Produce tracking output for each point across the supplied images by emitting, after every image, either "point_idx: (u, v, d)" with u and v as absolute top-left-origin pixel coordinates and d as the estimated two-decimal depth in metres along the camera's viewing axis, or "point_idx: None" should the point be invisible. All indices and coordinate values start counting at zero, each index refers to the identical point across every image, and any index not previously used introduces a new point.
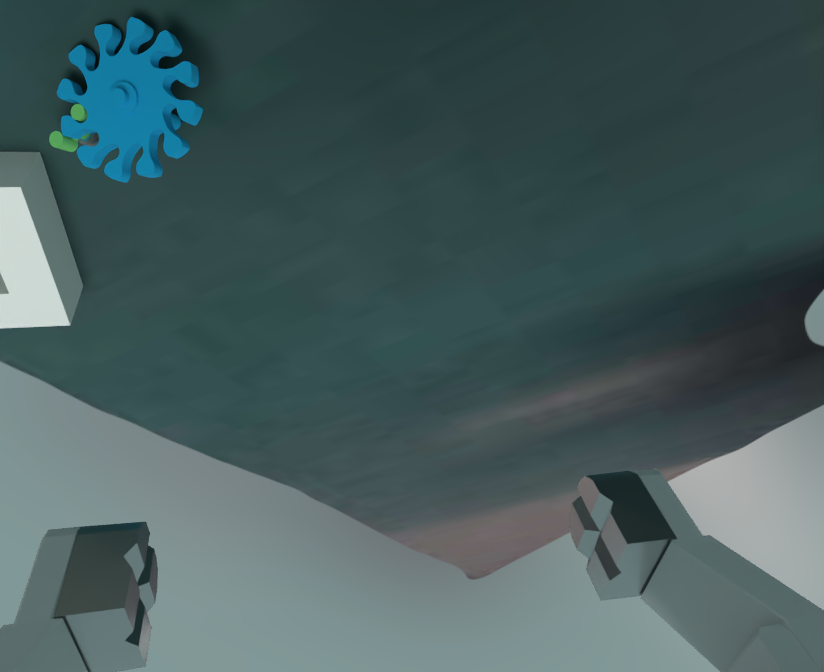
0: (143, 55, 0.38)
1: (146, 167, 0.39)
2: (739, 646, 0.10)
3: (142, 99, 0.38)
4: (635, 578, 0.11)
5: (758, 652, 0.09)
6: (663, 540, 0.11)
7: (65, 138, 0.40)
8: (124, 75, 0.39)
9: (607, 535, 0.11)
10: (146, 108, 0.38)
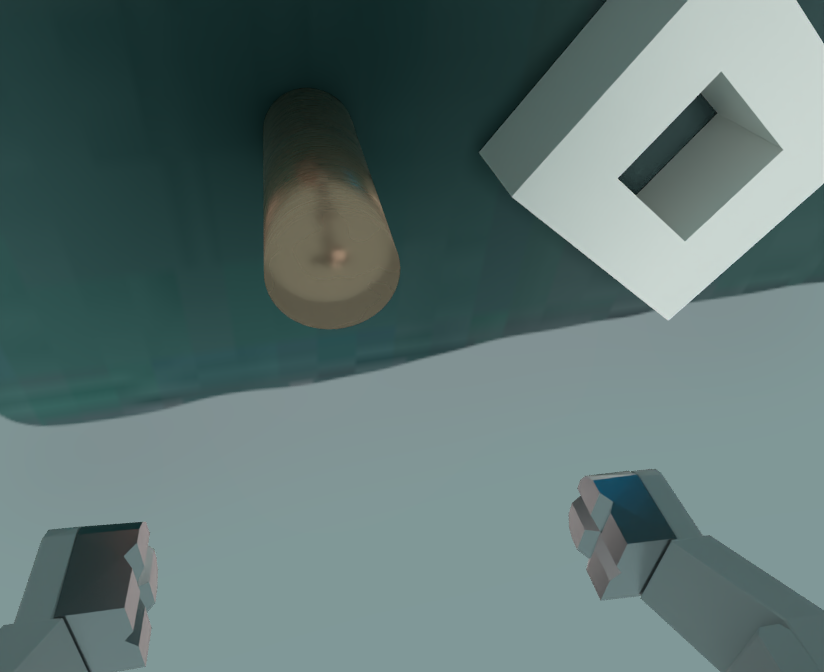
0: None
1: None
2: (739, 646, 0.10)
3: None
4: (635, 578, 0.11)
5: (758, 652, 0.09)
6: (663, 540, 0.11)
7: None
8: None
9: (607, 535, 0.11)
10: None
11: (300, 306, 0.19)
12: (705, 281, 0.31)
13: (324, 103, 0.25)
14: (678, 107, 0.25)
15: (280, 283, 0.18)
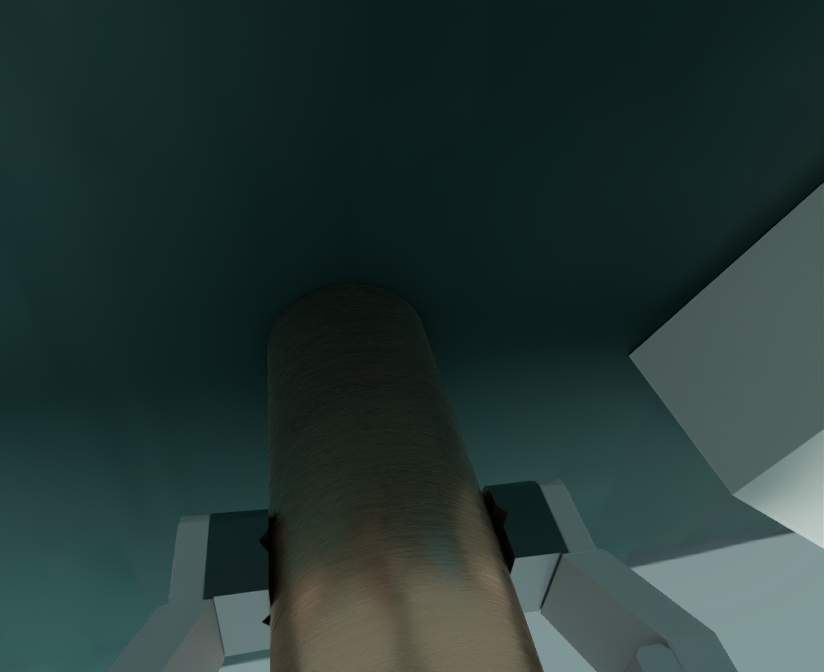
0: None
1: None
2: (629, 665, 0.10)
3: None
4: (531, 593, 0.11)
5: None
6: (554, 554, 0.10)
7: None
8: None
9: (501, 548, 0.11)
10: None
11: None
12: None
13: (384, 331, 0.13)
14: None
15: None
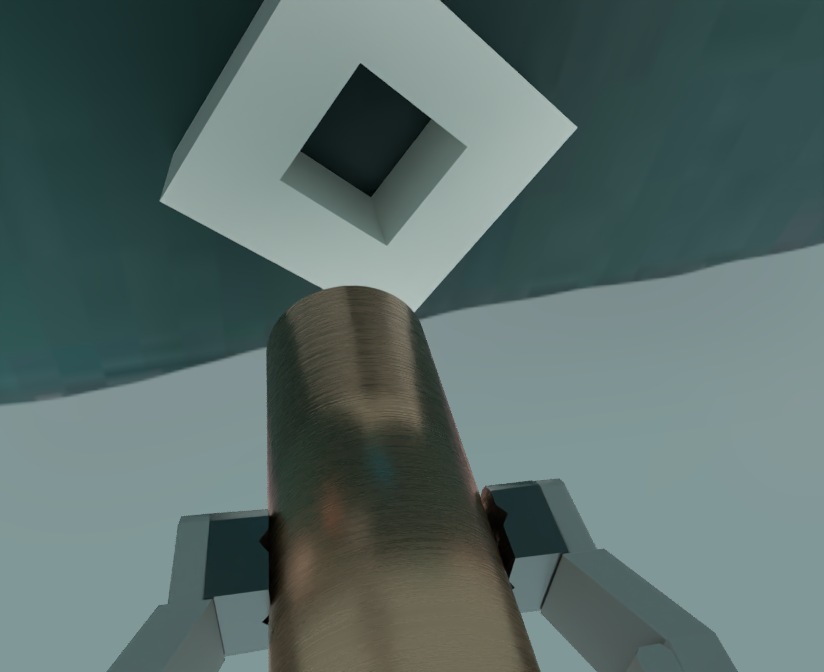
0: None
1: None
2: (629, 664, 0.10)
3: None
4: (531, 593, 0.11)
5: None
6: (554, 554, 0.10)
7: None
8: None
9: (502, 549, 0.11)
10: None
11: None
12: (427, 287, 0.29)
13: (383, 333, 0.13)
14: (323, 102, 0.23)
15: None
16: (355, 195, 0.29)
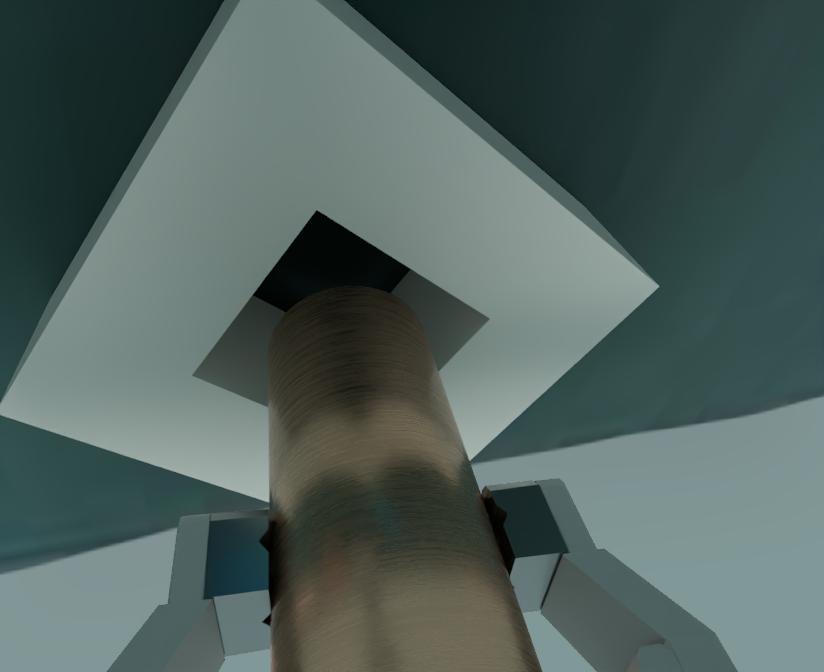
0: None
1: None
2: (629, 664, 0.10)
3: None
4: (531, 592, 0.11)
5: None
6: (555, 554, 0.10)
7: None
8: None
9: (502, 548, 0.11)
10: None
11: None
12: None
13: (385, 334, 0.13)
14: (257, 268, 0.14)
15: None
16: None
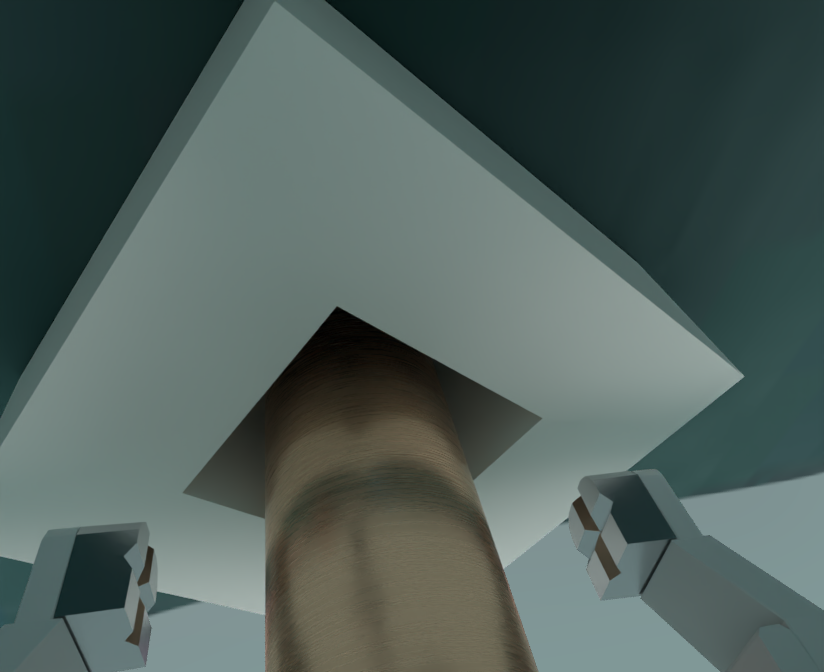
0: None
1: None
2: (739, 646, 0.10)
3: None
4: (635, 578, 0.11)
5: (758, 652, 0.09)
6: (663, 540, 0.11)
7: None
8: None
9: (607, 536, 0.11)
10: None
11: None
12: None
13: None
14: (262, 374, 0.11)
15: None
16: None
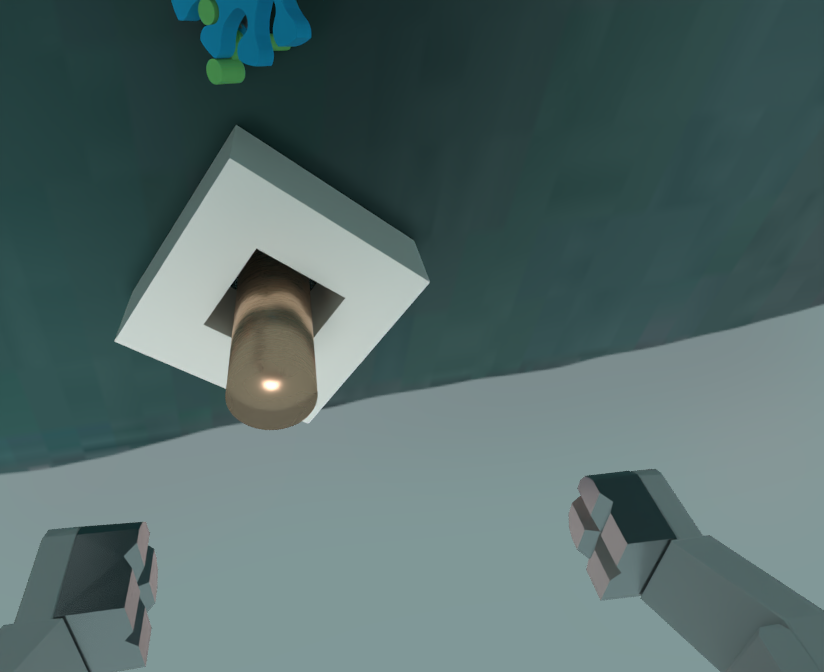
0: None
1: None
2: (739, 645, 0.10)
3: None
4: (635, 578, 0.11)
5: (758, 652, 0.09)
6: (663, 540, 0.11)
7: (221, 60, 0.27)
8: None
9: (607, 536, 0.11)
10: None
11: (251, 416, 0.28)
12: (327, 393, 0.37)
13: None
14: (231, 274, 0.31)
15: (236, 403, 0.27)
16: None
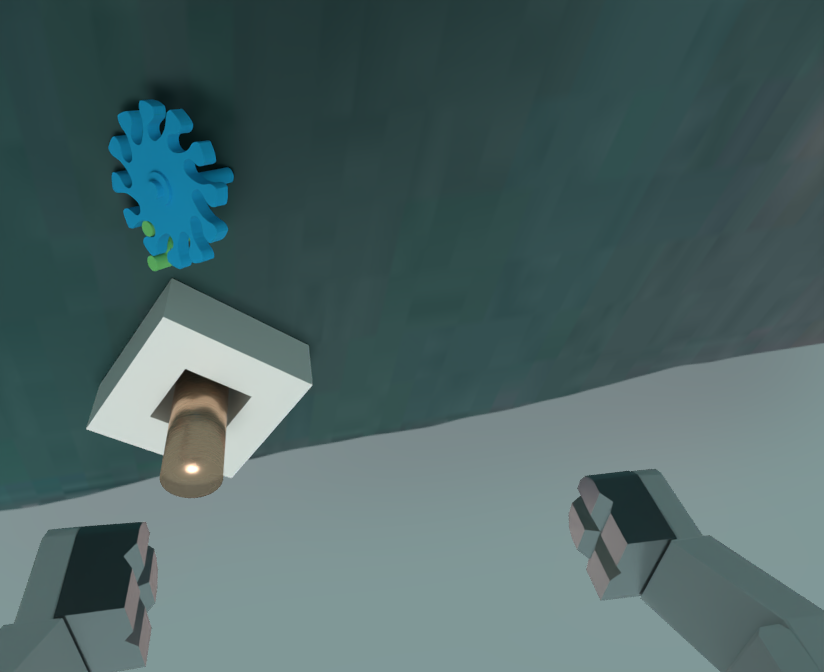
0: (144, 138, 0.37)
1: (210, 231, 0.36)
2: (739, 646, 0.10)
3: (169, 176, 0.37)
4: (635, 578, 0.11)
5: (758, 652, 0.09)
6: (663, 540, 0.11)
7: (157, 257, 0.40)
8: (147, 168, 0.37)
9: (607, 535, 0.11)
10: (176, 181, 0.36)
11: (178, 490, 0.42)
12: (244, 458, 0.51)
13: None
14: (168, 385, 0.45)
15: (167, 483, 0.41)
16: None
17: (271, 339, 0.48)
